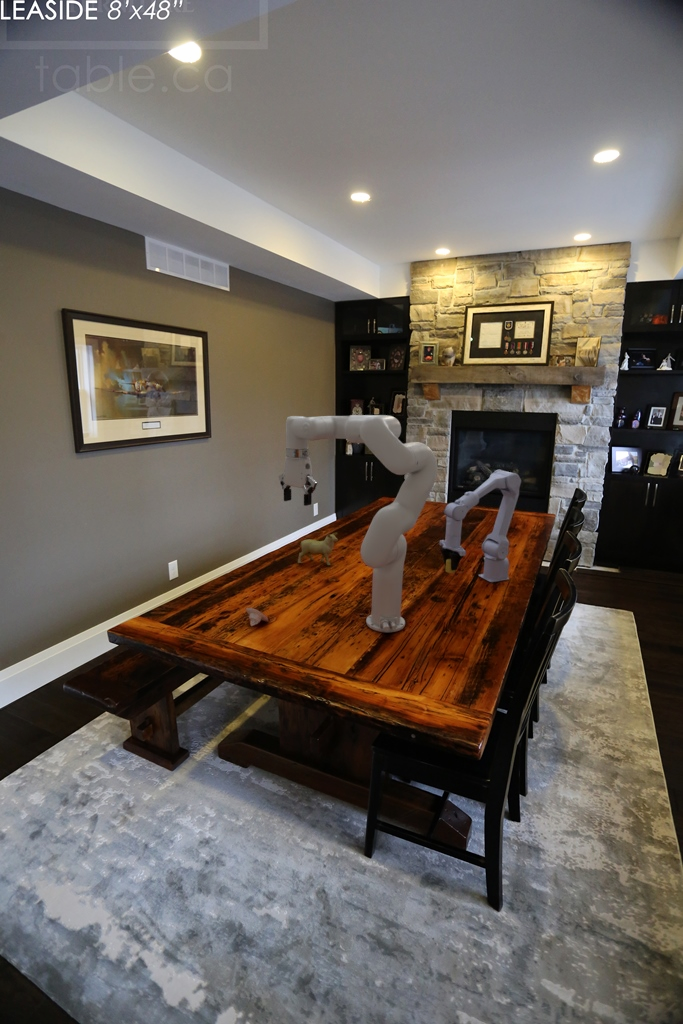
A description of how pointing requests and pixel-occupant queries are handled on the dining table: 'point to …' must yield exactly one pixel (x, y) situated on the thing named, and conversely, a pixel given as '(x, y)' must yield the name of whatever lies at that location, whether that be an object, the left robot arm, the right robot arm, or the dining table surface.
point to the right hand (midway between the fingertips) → (450, 567)
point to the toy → (318, 548)
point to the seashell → (255, 616)
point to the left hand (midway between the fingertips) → (297, 502)
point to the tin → (449, 566)
